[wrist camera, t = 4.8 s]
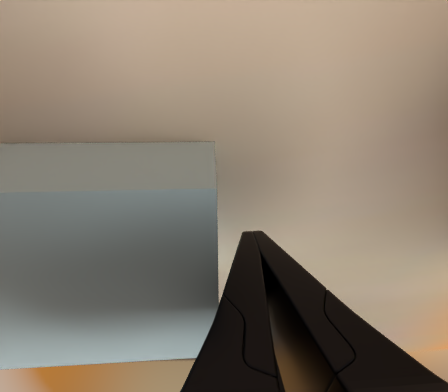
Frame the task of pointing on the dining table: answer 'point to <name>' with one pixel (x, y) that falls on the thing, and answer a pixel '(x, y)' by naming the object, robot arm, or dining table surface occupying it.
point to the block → (106, 252)
